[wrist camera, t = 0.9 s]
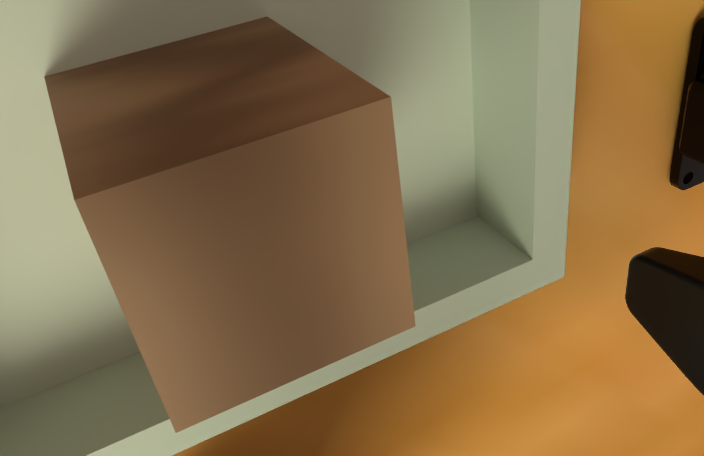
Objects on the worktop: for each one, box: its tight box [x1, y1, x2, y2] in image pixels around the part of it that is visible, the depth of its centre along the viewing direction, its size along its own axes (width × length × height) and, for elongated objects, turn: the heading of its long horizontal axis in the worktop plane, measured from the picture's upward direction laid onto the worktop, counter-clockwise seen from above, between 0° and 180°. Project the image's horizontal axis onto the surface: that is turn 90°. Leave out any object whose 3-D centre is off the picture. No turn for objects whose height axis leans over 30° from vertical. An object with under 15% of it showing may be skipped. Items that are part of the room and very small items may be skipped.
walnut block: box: [44, 17, 416, 433], centre depth 14 cm, size 5×5×6 cm
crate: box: [0, 0, 581, 456], centre depth 15 cm, size 18×12×3 cm, turn 98°
